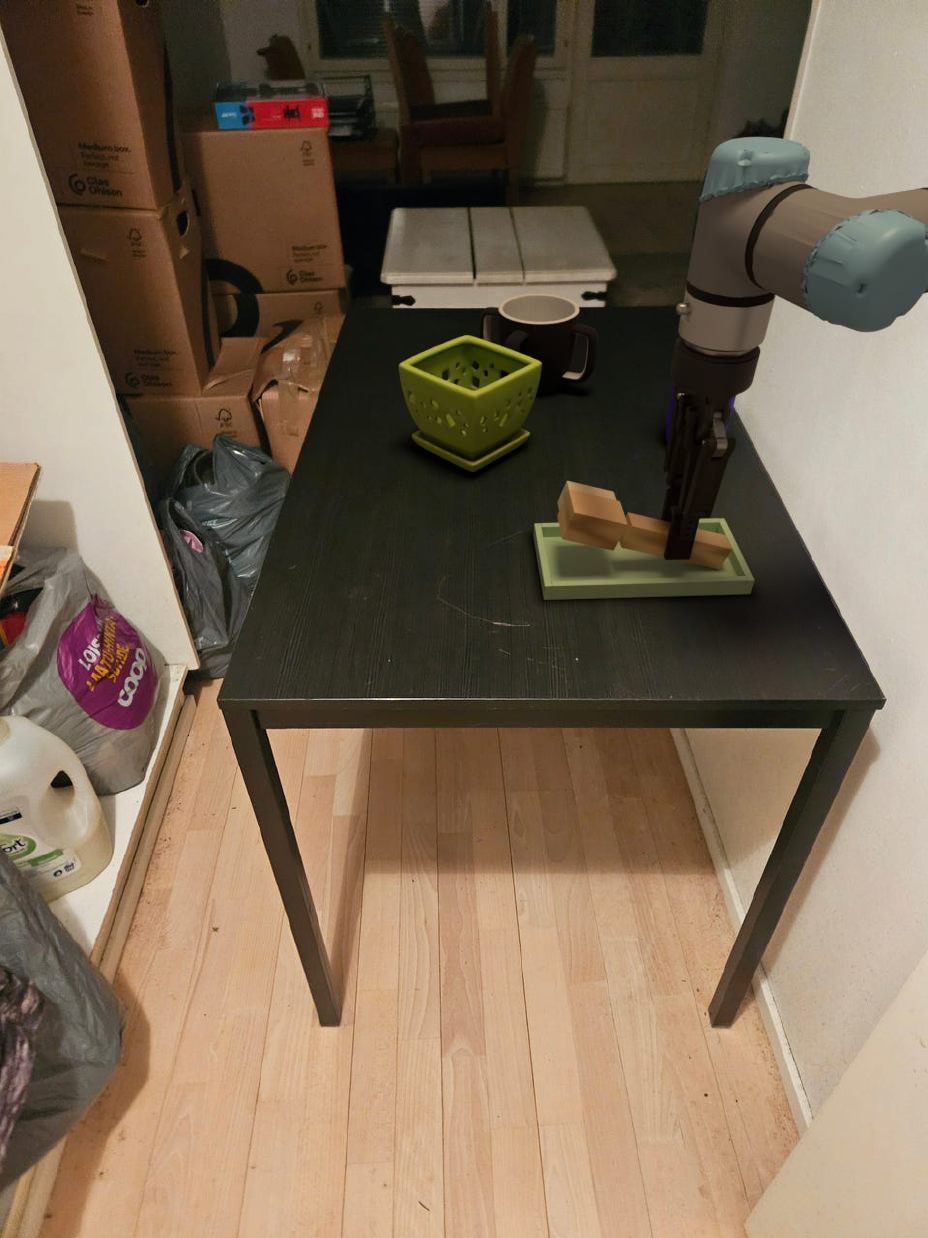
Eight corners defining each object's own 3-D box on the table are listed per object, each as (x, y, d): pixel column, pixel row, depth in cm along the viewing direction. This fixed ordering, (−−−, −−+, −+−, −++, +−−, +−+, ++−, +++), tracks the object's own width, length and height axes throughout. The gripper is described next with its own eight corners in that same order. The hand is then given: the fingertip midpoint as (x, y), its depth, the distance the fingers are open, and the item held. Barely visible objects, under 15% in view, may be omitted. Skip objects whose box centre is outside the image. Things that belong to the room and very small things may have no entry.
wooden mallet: (705, 539, 90) (720, 514, 87) (721, 574, 85) (738, 549, 82) (554, 504, 86) (566, 477, 83) (561, 539, 81) (574, 512, 78)
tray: (720, 531, 92) (724, 517, 90) (750, 594, 83) (755, 580, 82) (533, 536, 91) (534, 523, 90) (543, 600, 83) (544, 586, 81)
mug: (597, 402, 117) (606, 324, 109) (494, 411, 115) (496, 332, 107) (570, 358, 129) (576, 284, 121) (476, 365, 127) (476, 291, 119)
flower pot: (473, 486, 100) (473, 395, 91) (400, 450, 107) (393, 363, 98) (541, 446, 107) (546, 358, 99) (468, 415, 114) (467, 330, 106)
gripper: (658, 308, 75) (626, 509, 90) (700, 379, 63) (654, 595, 79) (734, 306, 75) (689, 507, 91) (790, 377, 63) (726, 593, 79)
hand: (673, 548), depth 85 cm, fingers closed on wooden mallet, 3 cm apart
